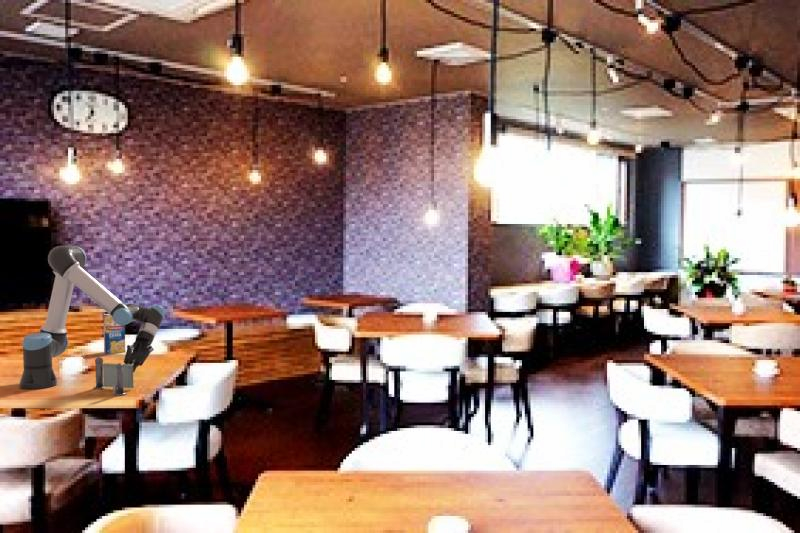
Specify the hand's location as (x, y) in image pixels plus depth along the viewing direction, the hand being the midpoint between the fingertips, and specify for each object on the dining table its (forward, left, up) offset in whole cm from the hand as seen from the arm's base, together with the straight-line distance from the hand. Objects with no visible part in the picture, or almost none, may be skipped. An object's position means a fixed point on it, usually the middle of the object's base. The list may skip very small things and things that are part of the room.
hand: (125, 377), depth 316 cm
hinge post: (-9, +9, -5) cm, 13 cm away
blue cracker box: (+30, +100, -5) cm, 104 cm away
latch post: (-6, -10, -5) cm, 12 cm away
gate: (-3, +1, -4) cm, 5 cm away
